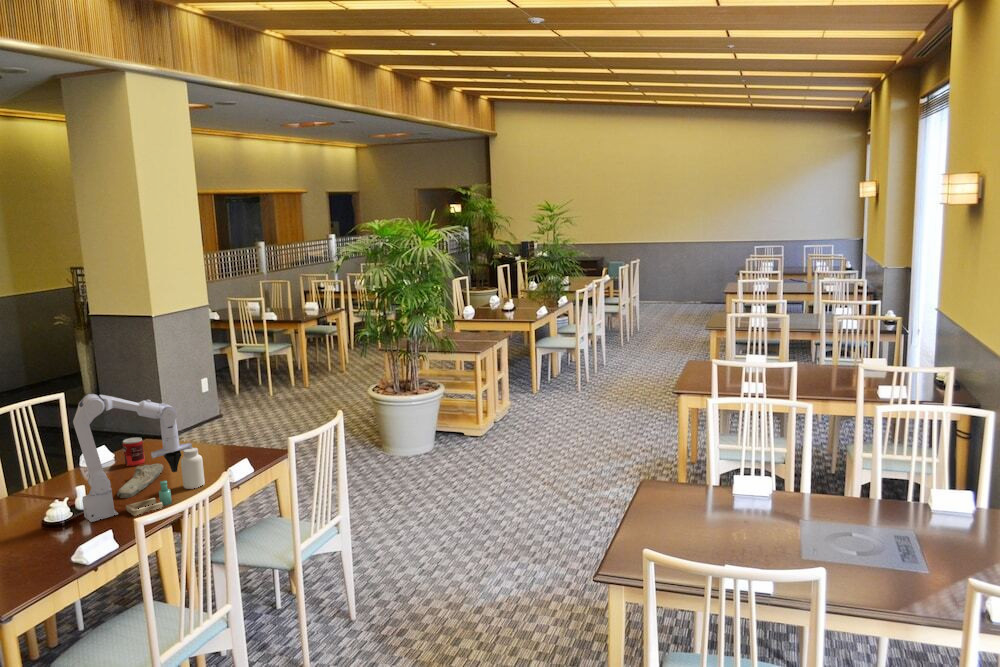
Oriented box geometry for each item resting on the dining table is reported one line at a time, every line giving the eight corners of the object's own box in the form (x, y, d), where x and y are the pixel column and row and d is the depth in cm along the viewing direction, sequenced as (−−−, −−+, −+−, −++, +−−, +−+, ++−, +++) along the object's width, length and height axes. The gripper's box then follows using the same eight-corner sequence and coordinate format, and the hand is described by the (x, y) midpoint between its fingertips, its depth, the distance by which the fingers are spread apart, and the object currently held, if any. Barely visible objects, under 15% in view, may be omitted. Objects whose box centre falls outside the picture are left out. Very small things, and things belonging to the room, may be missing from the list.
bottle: (162, 506, 286) (159, 484, 285) (158, 503, 289) (155, 482, 288) (173, 503, 289) (170, 481, 288) (169, 500, 292) (166, 479, 290)
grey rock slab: (110, 503, 297) (137, 503, 297) (109, 490, 295) (136, 490, 296) (145, 469, 331) (169, 468, 331) (144, 457, 330) (168, 457, 330)
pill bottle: (200, 489, 303) (196, 452, 301) (180, 490, 303) (175, 453, 301) (208, 482, 311) (204, 446, 309) (188, 482, 311) (184, 446, 309)
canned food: (131, 461, 344) (127, 437, 343) (148, 460, 344) (145, 436, 342) (122, 467, 337) (118, 442, 335) (140, 466, 336) (136, 442, 335)
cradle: (134, 516, 277) (133, 511, 277) (126, 510, 284) (125, 505, 283) (163, 508, 284) (162, 502, 284) (155, 502, 290) (154, 497, 290)
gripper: (185, 430, 298) (189, 464, 300) (146, 439, 289) (150, 474, 291) (192, 433, 293) (196, 468, 295) (153, 442, 283) (157, 478, 286)
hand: (174, 471), depth 293 cm, fingers closed
